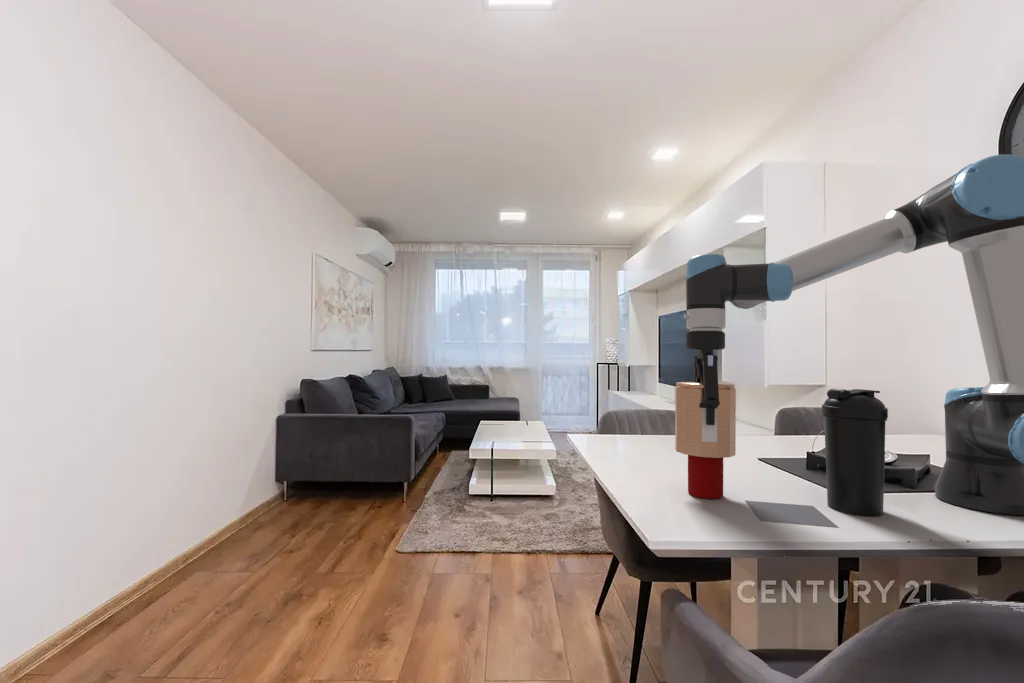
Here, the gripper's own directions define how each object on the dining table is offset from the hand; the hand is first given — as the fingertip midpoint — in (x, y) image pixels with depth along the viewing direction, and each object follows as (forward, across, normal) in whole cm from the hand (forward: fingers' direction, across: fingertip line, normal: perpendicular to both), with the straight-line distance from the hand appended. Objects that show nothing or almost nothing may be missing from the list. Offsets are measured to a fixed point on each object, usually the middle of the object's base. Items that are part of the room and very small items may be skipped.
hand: (704, 436), depth 99 cm
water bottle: (+12, +2, +26) cm, 29 cm away
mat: (+12, +8, +13) cm, 20 cm away
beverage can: (+13, 0, 0) cm, 13 cm away
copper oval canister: (+3, 0, 0) cm, 3 cm away
